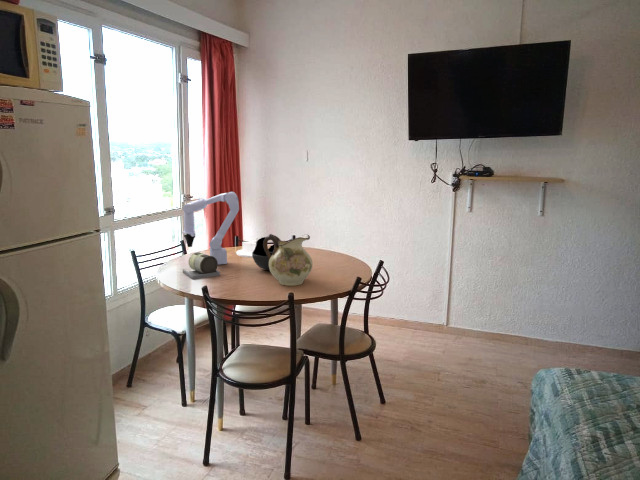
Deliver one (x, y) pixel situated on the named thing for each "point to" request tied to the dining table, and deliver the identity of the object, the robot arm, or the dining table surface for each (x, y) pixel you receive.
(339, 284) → the dining table surface
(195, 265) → the coffee can
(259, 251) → the bowl of black rocks
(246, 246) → the dish
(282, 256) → the pitcher
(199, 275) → the tray
